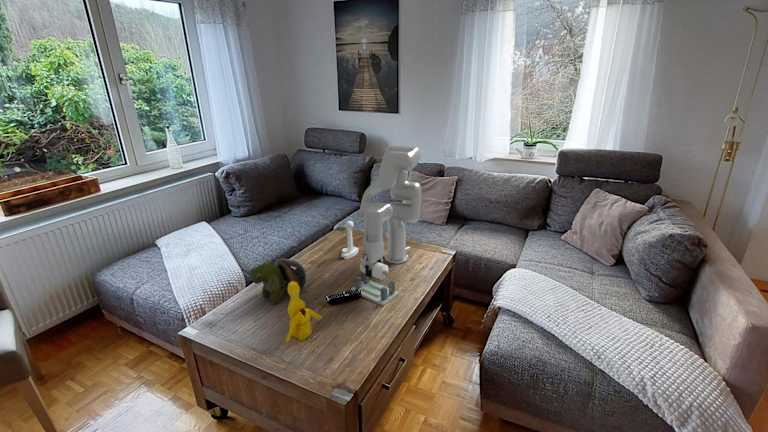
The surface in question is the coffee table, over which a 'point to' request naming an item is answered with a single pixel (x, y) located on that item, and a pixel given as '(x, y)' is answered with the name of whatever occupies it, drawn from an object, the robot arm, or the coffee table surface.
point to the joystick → (349, 243)
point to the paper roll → (377, 270)
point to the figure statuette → (299, 314)
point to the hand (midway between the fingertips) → (374, 273)
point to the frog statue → (279, 277)
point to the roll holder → (375, 290)
